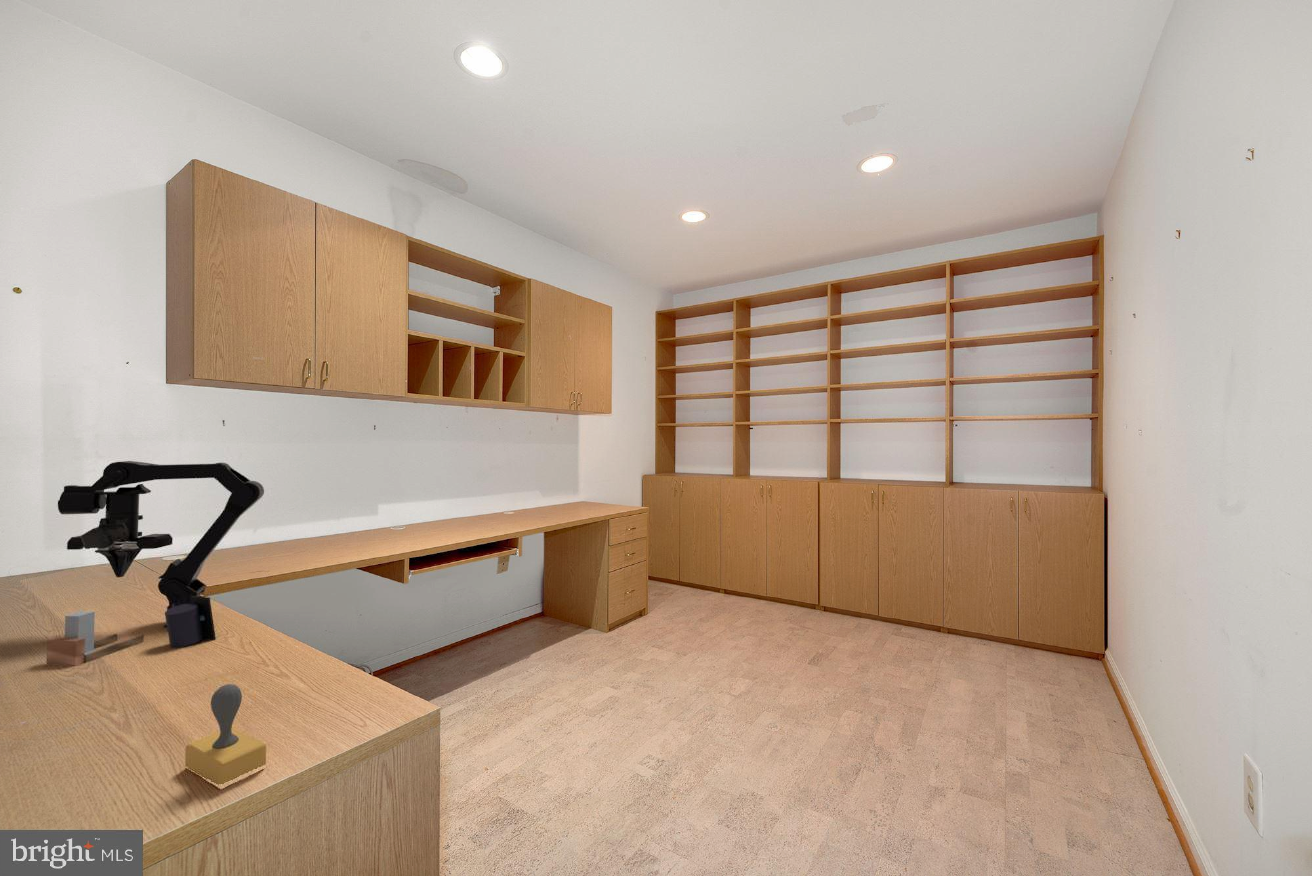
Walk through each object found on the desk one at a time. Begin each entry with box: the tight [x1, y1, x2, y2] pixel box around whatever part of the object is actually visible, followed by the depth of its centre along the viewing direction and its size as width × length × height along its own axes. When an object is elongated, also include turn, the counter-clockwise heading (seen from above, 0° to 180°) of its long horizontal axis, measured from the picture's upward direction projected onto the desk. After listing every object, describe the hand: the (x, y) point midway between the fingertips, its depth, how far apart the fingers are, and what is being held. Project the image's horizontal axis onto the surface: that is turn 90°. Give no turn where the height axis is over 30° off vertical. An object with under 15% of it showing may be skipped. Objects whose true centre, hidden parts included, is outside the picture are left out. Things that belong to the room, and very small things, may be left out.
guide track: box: [46, 633, 145, 667], centre depth 116 cm, size 13×7×5 cm, turn 177°
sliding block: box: [64, 610, 97, 654], centre depth 112 cm, size 3×5×9 cm, turn 87°
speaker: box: [164, 596, 217, 649], centre depth 122 cm, size 8×6×10 cm
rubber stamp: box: [184, 683, 267, 785], centre depth 76 cm, size 10×6×12 cm, turn 62°
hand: (120, 576), depth 129 cm, fingers closed
